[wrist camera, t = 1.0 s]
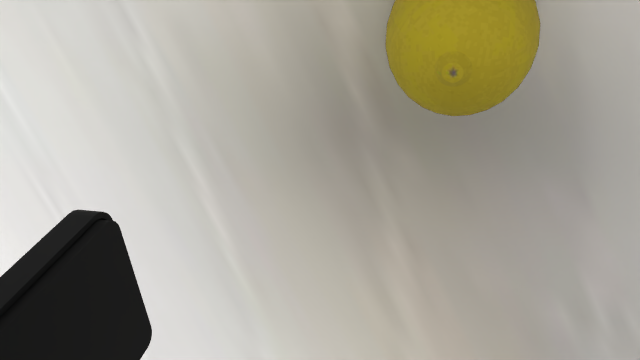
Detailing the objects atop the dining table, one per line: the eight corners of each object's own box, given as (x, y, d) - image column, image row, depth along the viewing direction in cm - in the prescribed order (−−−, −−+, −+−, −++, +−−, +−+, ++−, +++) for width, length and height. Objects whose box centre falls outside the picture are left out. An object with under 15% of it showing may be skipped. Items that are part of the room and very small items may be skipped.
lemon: (536, 62, 26) (545, 147, 19) (409, 72, 27) (378, 153, 21) (536, -73, 23) (545, -28, 16) (396, -52, 25) (355, -5, 18)
